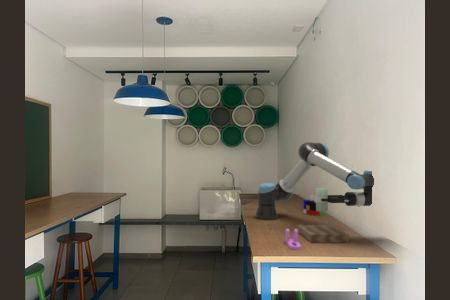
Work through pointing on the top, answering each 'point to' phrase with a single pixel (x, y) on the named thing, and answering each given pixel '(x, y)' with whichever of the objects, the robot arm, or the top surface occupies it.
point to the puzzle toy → (310, 208)
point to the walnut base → (323, 233)
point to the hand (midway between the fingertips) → (312, 198)
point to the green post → (322, 205)
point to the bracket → (292, 240)
